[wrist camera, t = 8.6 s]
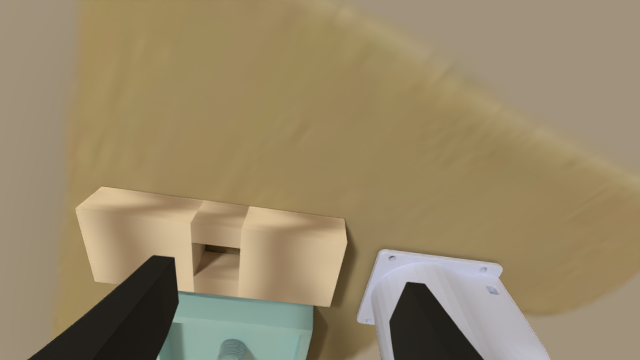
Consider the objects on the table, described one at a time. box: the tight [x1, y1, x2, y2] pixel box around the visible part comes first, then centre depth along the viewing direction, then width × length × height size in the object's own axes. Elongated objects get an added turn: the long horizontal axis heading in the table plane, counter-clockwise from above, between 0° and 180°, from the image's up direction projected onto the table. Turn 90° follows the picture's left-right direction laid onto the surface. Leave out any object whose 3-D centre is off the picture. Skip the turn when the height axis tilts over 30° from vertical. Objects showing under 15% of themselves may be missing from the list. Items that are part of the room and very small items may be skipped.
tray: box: [156, 291, 313, 360], centre depth 27 cm, size 12×12×2 cm
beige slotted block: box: [75, 187, 347, 307], centre depth 21 cm, size 16×6×2 cm, turn 81°
